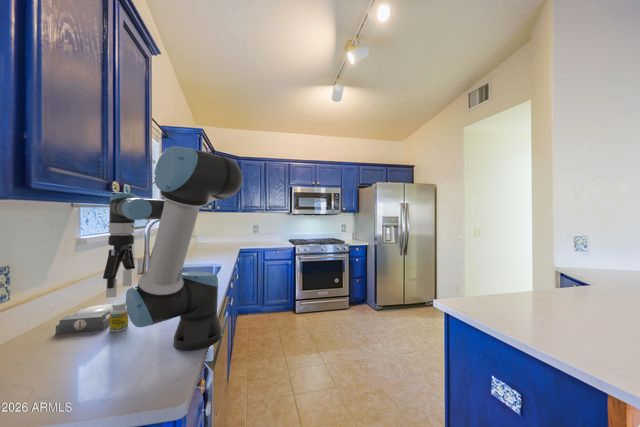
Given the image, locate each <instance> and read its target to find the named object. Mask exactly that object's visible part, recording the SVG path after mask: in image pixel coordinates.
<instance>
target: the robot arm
mask: <svg viewBox="0 0 640 427" xmlns="http://www.w3.org/2000/svg"><path fill="white" fill-rule="evenodd" d="M155 164H156V165H155V168H154V178H153V179H154V184H155V186H156V188H157V189H158V190H160V192H159V194H160V196H161V197H162V198H163V199H154V198H141V197H136V194H134V193H130V192H114V193H115V194H113V196H112V197H109V198H110V199H109V201H108V202H109V214H108V216H109V218H108V219H109V221H108V234H109V235H108V240H107V241H108V245H109V246H113V249H109V250H108V256H107V259H106V265H105V267H104V272H103V276H102V279H103V280H106V290H105V298H116V297H117V294H118V293H117V291H118V289H117V287H118V278H117V274H118V272H119V268H120V266H121V263H122V266H123V270H122V287H130V288H129V289H128V290H126V294H125V302H126V307H127V311H128V319H129V320H130V322H131V323H132V325H133V326H135V327H136V328H144V327H149V326H154V325H157V324H159V323H163V322H166V321H169V320H172V319H174V318H178V317H179V318H180V319H179V321H178V324H177V327H176V329H175V332H174V336H173V346H174V347H175V348H176V349H178V350H181V349H182V350H181V351H196V350H195V349H197V350H200V349H201V348H202V349H205V348H208V347H211V346H214V344H217V343H218V342H219V341H220V340H221V339H222V336H223V335H222V334H223V331H222V330H223V329H222V326H221V322H220V320H219V316H218V296H219V295H218V294H219V292H218V291H219V289H218V288H219V278H218V275H217V274H216V273H213V272H208V271H185V272H182V270H183V269H184V268H183V267H184V265H185V261H186V257H187V254H188V249H189V247H190V243H191V240H192V237H193V236H192V235H193V233H194V229H195V225H196V221H197V219H198V215H199V211H200V208H203V207H204V206H205V207H206V205H208V204H209V203H212V202H214V201H216V200H218V201H223V200H226V199H228V198H231V197H232V196H234V195H236V194H237V193H238V192H239V191H240V189H241V188H242V185H243V181H244V180H243V173H242V170H241V168H240V166H239V165H238V164H237V163H236V162H235V161H234V160H232V158H230V157H227V156H224V155H221V154H220V155H219V154H214V153H211V152H207V151H203V150H199V149H195V148H191V147H184V146H179V145H173V146H170V147H168V148H166V149H165V150H164V151H163V152H162V153H161V154H160V156H159V158H158V159H157V162H156V163H155ZM142 220H159V224H158V227H157V232H156V236H155V240H154V244H153V248H152V252H151V255H150V256H151V257H150V260H149V265H148V267H147V272H146V273H144V274H142V275H141V276H140V277H139V279H138V283H137V286H132V285H133V284H132V281H133V280H132V278H133V269H134V270H135V268H136V266H135V259H134V254H133V245H134V243H135V235H134V233H135V229H136V228H137V227H136V225H135V222H136V221H142ZM131 286H132V287H131ZM202 349H201V350H202Z"/></svg>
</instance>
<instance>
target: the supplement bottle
mask: <svg viewBox="0 0 640 427" xmlns="http://www.w3.org/2000/svg"><path fill="white" fill-rule="evenodd" d="M111 305H112V308H113V309H112V310H111V311H110V324H109V332H111V333H119V332H122V331H125V330H127V329H128V327H129V315H128V311H127V307H126V301H117V302H114V303H112V304H111Z"/></svg>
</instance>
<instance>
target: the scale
mask: <svg viewBox="0 0 640 427" xmlns="http://www.w3.org/2000/svg"><path fill="white" fill-rule="evenodd" d="M112 305H113V304H99V305H98V304H97V305H94V306H93V305H92V306H89V307H88V306H87V307H86V306H85V307H83V308H82V309H79V310H77V311H76V312H75V313H74V314H71V315H66V316H64V317H63V318H61V319H59V323H58V324H56V325H55V335H62V334H71V333H83V332H91V331H103V330H106V328H107V327H109V326H110V311H111V310H112V309H113V308H112Z"/></svg>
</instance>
